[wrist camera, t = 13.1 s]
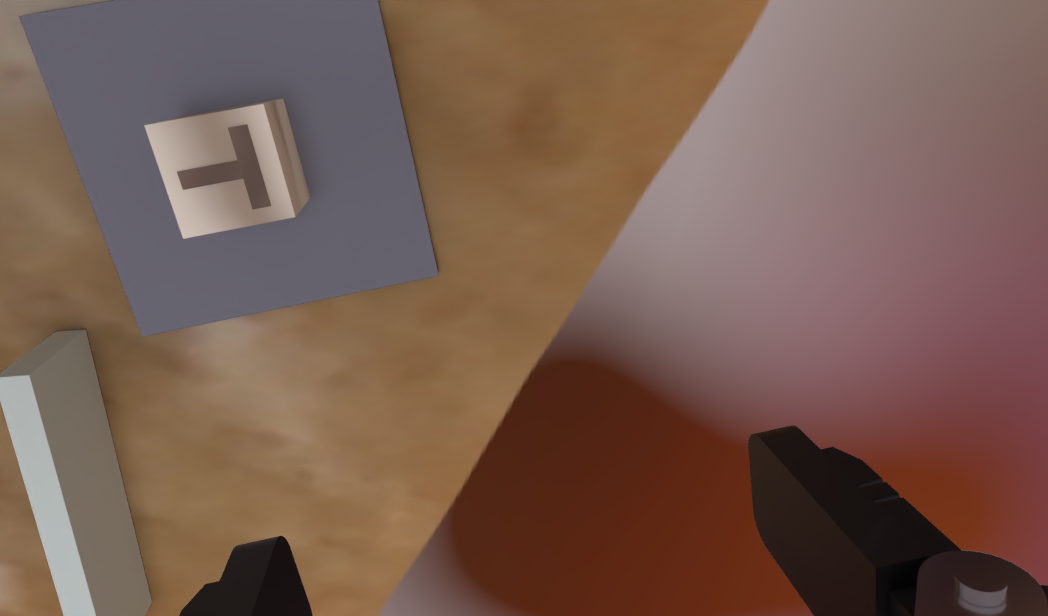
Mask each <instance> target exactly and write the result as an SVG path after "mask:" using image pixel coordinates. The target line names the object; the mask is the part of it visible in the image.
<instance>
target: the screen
mask: <svg viewBox="0 0 1048 616" xmlns="http://www.w3.org/2000/svg"><path fill="white" fill-rule="evenodd" d="M0 402H1V405H2V408H3V412H4V415H5V419H6V422H7V425H8V429H9V432H10V435H11V439H12V442H13V446H14V449H15V452H16V456H17V459H18V462H19V466H20V469H21V473H22V476H23V479H24V483H25V486H26V490H27V493H28V496H29V500H30V503H31V506H32V510H33V513H34V517H35V520H36V523H37V527H38V530H39V533H40V537H41V540H42V544H43V547H44V550H45V554H46V557H47V560H48V564H49V567H50V571H51V574H52V577H53V581H54V584H55V587H56V591H57V594H58V598H59V601H60V604H61V608H62V611H63V615H64V616H145V615H146V613H147V611H148V609H149V607H150V605H151V603H152V599H151V595H150V591H149V587H148V583H147V579H146V575H145V571H144V567H143V562H142V558H141V554H140V550H139V546H138V542H137V538H136V534H135V530H134V526H133V521H132V517H131V513H130V509H129V505H128V501H127V497H126V493H125V489H124V484H123V480H122V476H121V472H120V468H119V464H118V460H117V456H116V452H115V447H114V443H113V439H112V435H111V431H110V427H109V423H108V419H107V415H106V411H105V406H104V402H103V398H102V394H101V390H100V386H99V382H98V378H97V374H96V369H95V365H94V361H93V357H92V353H91V349H90V345H89V341H88V337H87V332H86V329H84V330H70V331H56V332H54V333H53V334H52V335H50V336H49V337H48V338H46V339H45V340H44V341H42V342H41V343H40V344H38V345H37V346H36V347H34V348H33V349H32V350H30V351H29V352H28V353H26V354H25V355H24V356H22V357H21V358H20V359H18V360H17V361H16V362H14V363H13V364H12V365H10V366H9V367H8V368H6V369H5V370H4V371H2V372H1V373H0Z"/></svg>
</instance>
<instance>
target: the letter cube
mask: <svg viewBox="0 0 1048 616" xmlns="http://www.w3.org/2000/svg"><path fill="white" fill-rule="evenodd" d="M144 126H145V129H146V132H147V135H148V138H149V141H150V144H151V147H152V150H153V152H154V155H155V158H156V161H157V164H158V167H159V170H160V173H161V176H162V179H163V182H164V184H165V187H166V190H167V193H168V196H169V199H170V202H171V205H172V208H173V211H174V214H175V216H176V219H177V222H178V225H179V228H180V231H181V234H182V237H183V239H185V238H190V237H195V236H201V235H206V234H211V233H216V232H221V231H226V230H231V229H237V228H242V227H247V226H252V225H257V224H262V223H267V222H273V221H278V220H283V219H288V218H293V217H296V216H297V215H298V213H299V212H300V211H301V209H302V208H303V207H304V205H305V204H306V203H307V201H308V200H309V199H310V195H309V191H308V187H307V184H306V180H305V176H304V173H303V169H302V165H301V162H300V158H299V154H298V151H297V147H296V143H295V140H294V136H293V133H292V129H291V125H290V122H289V118H288V114H287V111H286V107H285V103H284V100H283V99H278V100H273V101H267V102H262V103H256V104H250V105H245V106H239V107H234V108H228V109H223V110H217V111H212V112H206V113H200V114H195V115H189V116H184V117H179V118H174V119H170V120H165V121H161V122H156V123H152V124H148V125H144Z"/></svg>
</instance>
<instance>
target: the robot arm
mask: <svg viewBox="0 0 1048 616" xmlns="http://www.w3.org/2000/svg"><path fill="white" fill-rule="evenodd" d="M748 445H749V446H748V448H749V462H750V476H751V490H752V503H753V513H754V518H755V522H756V526H757V529H758V531H759V534H760V537H761V539H762V541H763V543H764V545H765V546H766V548H767V549H768V551H769V552H770V554H771V555H772V556H773V558H774V559H775V561H776V562H777V564H778V565H779V567H780V568H781V569H782V571H783V572H784V574H785V575H786V576H787V578H788V579H789V581H790V582H791V584H792V585H793V587H794V588H795V589H796V591H797V592H798V594H799V595H800V597H801V598H802V599H803V601H804V602H805V603H806V605H807V606H808V608H809V609H810V611H811V612H812V614H813V615H814V616H1048V586H1045V585H1040V584H1039V583H1038V582H1037V581H1036V579H1035V578H1034V577H1032V576H1031V575H1030V574H1029V573H1028V572H1026V571H1025V570H1023V569H1022V568H1020V567H1019V566H1017V565H1015V564H1013V563H1011V562H1009V561H1007V560H1005V559H1002V558H1000V557H996V556H993V555H990V554H986V553H981V552H975V551H964V550H961V549H959V548H958V547H957V546H956V545H955V544H954V543H953V542H952V541H951V540H950V539H948V538H947V537H946V536H945V535H944V534H943V533H942V532H941V531H939V530H938V529H937V528H936V527H935V526H934V525H933V524H932V523H931V522H929V521H928V520H927V519H926V518H925V517H924V516H923V515H922V514H921V513H920V512H919V511H917V510H916V509H915V508H914V507H913V506H912V505H911V504H910V503H909V502H908V501H906V500H905V499H904V498H900V497H899V493H898V492H897V491H895V490H894V489H893V488H892V487H891V486H890V485H888V483H887V482H883V481H882V478H881V477H880V476H879V475H878V474H877V473H875V472H874V471H873V470H872V469H871V468H870V467H869V466H868V465H866V463H864V462H863V461H862V460H860V459H858V458H856V457H854V456H852V455H850V454H847V453H845V452H843V451H841V450H839V449H836V448H834V447H830V448H825V449H820V448H819V447H818V446H816V445H815V444H814V443H813V442H812V441H811V440H810V439H809V438H808V437H807V436H806V435H805V434H804V433H803V432H802V431H801V430H800V429H799V428H798V427H796V426H787V427H783V428H778V429H774V430H770V431H765V432H761V433H755V434H752V435H751V436H750V438H749V443H748ZM179 616H312V611H311V608H310V604H309V601H308V599H307V596H306V593H305V590H304V587H303V584H302V581H301V578H300V575H299V572H298V569H297V566H296V563H295V560H294V557H293V554H292V551H291V548H290V546H289V544H288V542H287V540H286V539H285V538H284V537H283V536H278V537H274V538H269V539H265V540H260V541H255V542H251V543H246V544H242V545H237V546H236V547H235V548H234V549H233V551H232V553H231V555H230V558H229V560H228V562H227V565H226V567H225V570H224V572H223V574H222V577H221V579H220V581H218V582H214V583H209V584H205V585H204V587H203V588H202V589H201V590H200V591H199V592H198V593H197V594H196V595H195V596H194V598H193V599H192V600H191V601H190V602H189V603H188V604H187V605H186V606H185V607H184V608H183V610H182V611H181V613H180V615H179Z"/></svg>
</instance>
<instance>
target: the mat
mask: <svg viewBox="0 0 1048 616" xmlns="http://www.w3.org/2000/svg"><path fill="white" fill-rule="evenodd" d="M19 18H20V20H21V23H22V25H23V28H24V30H25V33H26V36H27V38H28V41H29V43H30V46H31V49H32V51H33V54H34V56H35V59H36V62H37V64H38V67H39V69H40V72H41V75H42V77H43V80H44V82H45V85H46V88H47V90H48V93H49V95H50V98H51V101H52V103H53V106H54V108H55V111H56V114H57V116H58V119H59V121H60V124H61V127H62V129H63V132H64V134H65V137H66V140H67V142H68V145H69V147H70V150H71V153H72V155H73V158H74V160H75V163H76V166H77V168H78V171H79V173H80V176H81V179H82V181H83V184H84V186H85V189H86V192H87V194H88V197H89V199H90V202H91V205H92V207H93V210H94V212H95V215H96V218H97V220H98V223H99V225H100V228H101V231H102V233H103V236H104V238H105V241H106V244H107V246H108V249H109V251H110V254H111V257H112V259H113V262H114V264H115V267H116V270H117V272H118V275H119V277H120V280H121V283H122V285H123V288H124V290H125V293H126V296H127V298H128V301H129V303H130V306H131V308H132V311H133V314H134V316H135V319H136V321H137V324H138V327H139V329H140V332H141V334H142V337H143V336H148V335H153V334H158V333H163V332H168V331H172V330H177V329H182V328H187V327H192V326H197V325H202V324H206V323H211V322H216V321H221V320H226V319H231V318H236V317H240V316H245V315H250V314H255V313H260V312H265V311H270V310H274V309H279V308H284V307H289V306H294V305H299V304H304V303H308V302H313V301H318V300H323V299H328V298H333V297H338V296H342V295H347V294H352V293H357V292H362V291H367V290H372V289H376V288H381V287H386V286H391V285H396V284H401V283H406V282H410V281H415V280H420V279H425V278H430V277H435V276H439V274H438V269H437V264H436V260H435V255H434V251H433V246H432V242H431V237H430V232H429V228H428V223H427V219H426V214H425V210H424V205H423V201H422V196H421V192H420V187H419V183H418V178H417V174H416V169H415V165H414V160H413V156H412V151H411V146H410V142H409V137H408V133H407V128H406V124H405V119H404V115H403V110H402V106H401V101H400V97H399V92H398V88H397V83H396V79H395V74H394V70H393V65H392V60H391V56H390V51H389V47H388V42H387V38H386V33H385V29H384V24H383V20H382V15H381V11H380V6H379V2H378V0H113V1H107V2H101V3H95V4H89V5H83V6H77V7H71V8H65V9H59V10H53V11H47V12H41V13H35V14H29V15H23V16H19ZM278 99H283V100H284V103H285V107H286V111H287V114H288V118H289V122H290V125H291V129H292V133H293V136H294V140H295V143H296V147H297V151H298V154H299V158H300V162H301V165H302V169H303V173H304V176H305V180H306V184H307V187H308V191H309V195H310V199H309V200H308V201H307V203H306V204H305V205H304V207H303V208H302V209H301V211H300V212H299V213H298V215H297V216H296V217H293V218H288V219H283V220H278V221H273V222H267V223H262V224H257V225H252V226H247V227H242V228H237V229H231V230H226V231H221V232H216V233H211V234H206V235H201V236H195V237H190V238H185V239H183V237H182V234H181V231H180V228H179V225H178V222H177V219H176V216H175V214H174V211H173V208H172V205H171V202H170V199H169V196H168V193H167V190H166V187H165V184H164V182H163V179H162V176H161V173H160V170H159V167H158V164H157V161H156V158H155V155H154V152H153V150H152V147H151V144H150V141H149V138H148V135H147V132H146V129H145V126H144V125H148V124H152V123H156V122H161V121H165V120H170V119H174V118H179V117H184V116H189V115H195V114H200V113H206V112H212V111H217V110H223V109H228V108H234V107H239V106H245V105H250V104H256V103H262V102H267V101H273V100H278Z"/></svg>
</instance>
